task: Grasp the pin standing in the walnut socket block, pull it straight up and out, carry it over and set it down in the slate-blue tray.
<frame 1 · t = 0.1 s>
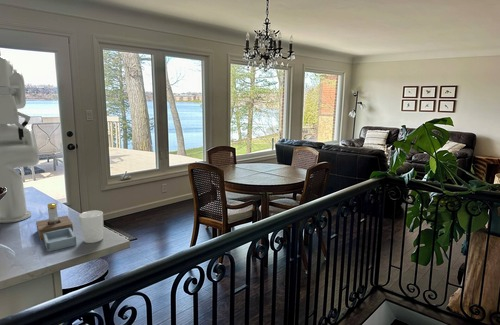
hand: (4, 140, 120), 37 cm above the kitchen island, tool pointing down, fingers open, 9 cm apart
socket block: (55, 232, 132), on the kitchen island
tray: (60, 242, 122), on the kitchen island
white cup: (93, 239, 125), on the kitchen island
pin: (53, 218, 131), in the socket block
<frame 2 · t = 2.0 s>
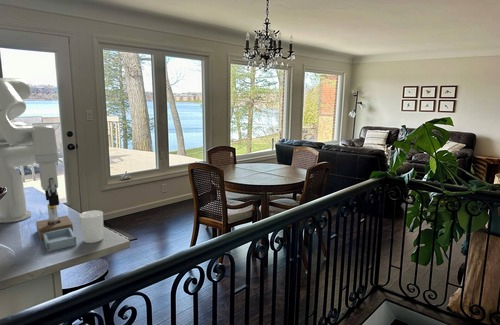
hand: (52, 202, 129), 12 cm above the kitchen island, tool pointing down, fingers open, 9 cm apart
nothing on the kitchen island moved.
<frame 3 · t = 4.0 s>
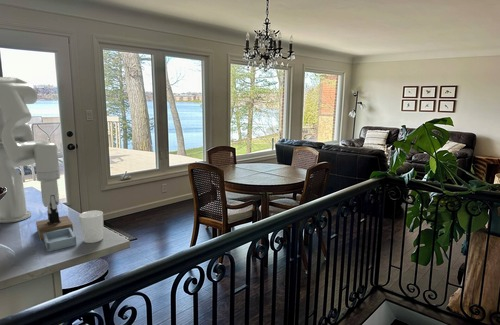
hand: (53, 220, 131), 5 cm above the kitchen island, tool pointing down, fingers closed on pin, 3 cm apart
pin: (53, 218, 130), in the socket block, touching gripper
everything else where it was.
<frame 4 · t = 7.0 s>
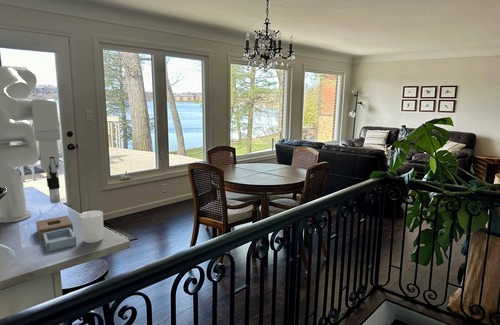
hand: (53, 187, 118), 21 cm above the kitchen island, tool pointing down, fingers closed on pin, 3 cm apart
pin: (53, 186, 118), point 21 cm above the kitchen island, touching gripper
everything else where it was.
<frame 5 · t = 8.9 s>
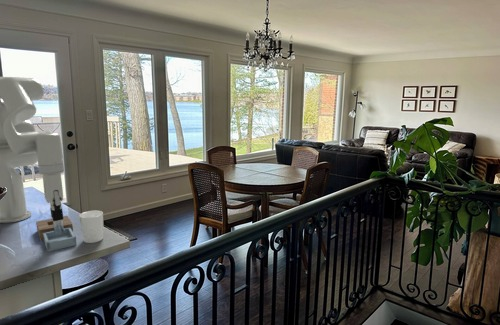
hand: (57, 218, 120), 9 cm above the kitchen island, tool pointing down, fingers closed on pin, 3 cm apart
pin: (57, 217, 120), point 10 cm above the kitchen island, touching gripper
everything else where it was.
when the fingers open (7 cm above the kitchen island, at t = 10.2 s): pin stays where it is, resting on tray.
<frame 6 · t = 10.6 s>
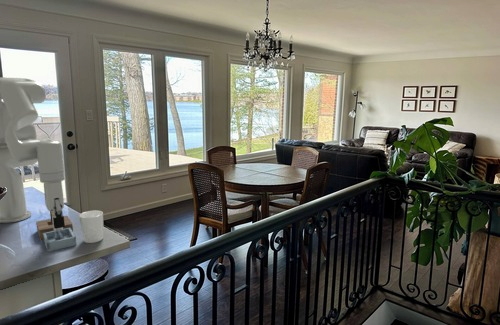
hand: (57, 223, 121), 7 cm above the kitchen island, tool pointing down, fingers open, 7 cm apart
pin: (57, 225, 121), in the tray, point 7 cm above the kitchen island
everything else where it was.
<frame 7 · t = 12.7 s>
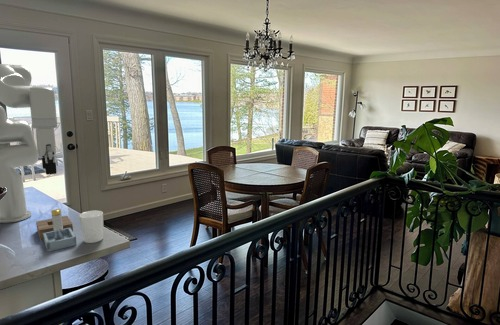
hand: (49, 171, 121), 26 cm above the kitchen island, tool pointing down, fingers open, 9 cm apart
nothing on the kitchen island moved.
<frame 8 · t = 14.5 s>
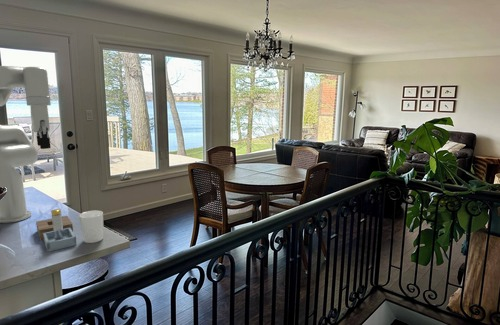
hand: (44, 146, 128), 33 cm above the kitchen island, tool pointing down, fingers open, 9 cm apart
nothing on the kitchen island moved.
at the end: pin inside the target area on the tray (0.1 cm from its centre), point 6.6 cm above the tray's base; pin touching tray; the gripper is holding nothing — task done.
